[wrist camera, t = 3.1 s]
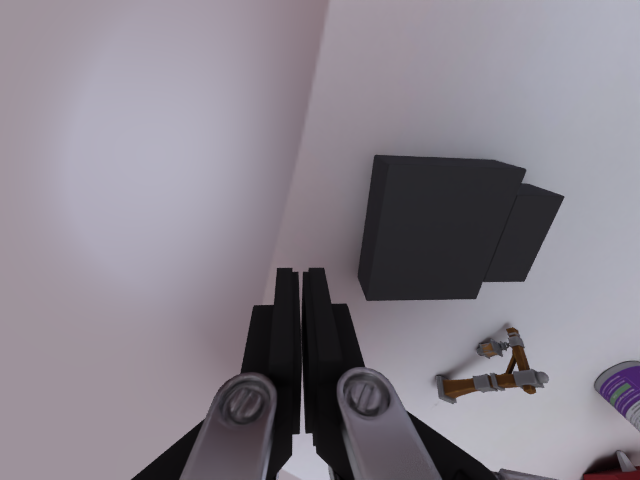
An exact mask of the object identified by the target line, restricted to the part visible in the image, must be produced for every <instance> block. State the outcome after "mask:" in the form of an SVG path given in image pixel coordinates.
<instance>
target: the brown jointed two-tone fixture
mask: <svg viewBox="0 0 640 480" xmlns="http://www.w3.org/2000/svg"><path fill="white" fill-rule="evenodd" d="M506 330H507V332H508V336H509V338H508V340H509V343H507V342H504V343H502V342H501V341H500V343H497V342H495V341H494V340H492V339H490V341H491V342H490V343H485V344H480V343H479V345H480V348H478V349H477V353H478V354H479V355H480V356H485V357H487V358H489V359H490V357H492V356H495V355H500V356H502V357H503V354H502V350H503V349H504V350H506V351H507V348H508V347H509V346H510V347H512V349H513V350H512V354H513V356H512V358H511V360H510V363H509V365H508V368H507V370H506V373H504V374H501V375H497V374H495V373H490V375H491V376H490V375H488V374H485V375H481V376H473V378H471V379H463V380H449V379H446V378H444V377H442V376H436V380H437V388H438V395H439V399H442V400H444V401H446V402H449V403H451V404H454V403H457V402H456V398H457V397H459V396H461V395H465V394H468V393H471V392H475V391H481V392H483V393H484V392H487V391H498V390H500V391H503V390H504V391H505V388H513V387H520V388H522V389H524V391H525V392H527V393H528V394H534V393H536V389H535V388H538V387H541V388H544V385H543V383H547V382H548V381H549V377H548V375H547V374H546V373H544V372H537V371H535V370H533V369H530V368H529V365H528V361H527V358H526V355H525V352H524V349H523V348H525V347H524V344H523V341H522V339H521V338H520V335H519V333H518V330H516V329H515V328H513V327H512V328H509V329H506ZM505 343H506V345H507V347H506V345H505ZM509 344H510V345H509ZM504 350H503V351H504ZM516 362H517V366H518V369H519V371H513V369H514V366H515V364H516ZM512 371H513V374H512ZM497 389H498V390H497Z"/></svg>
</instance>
